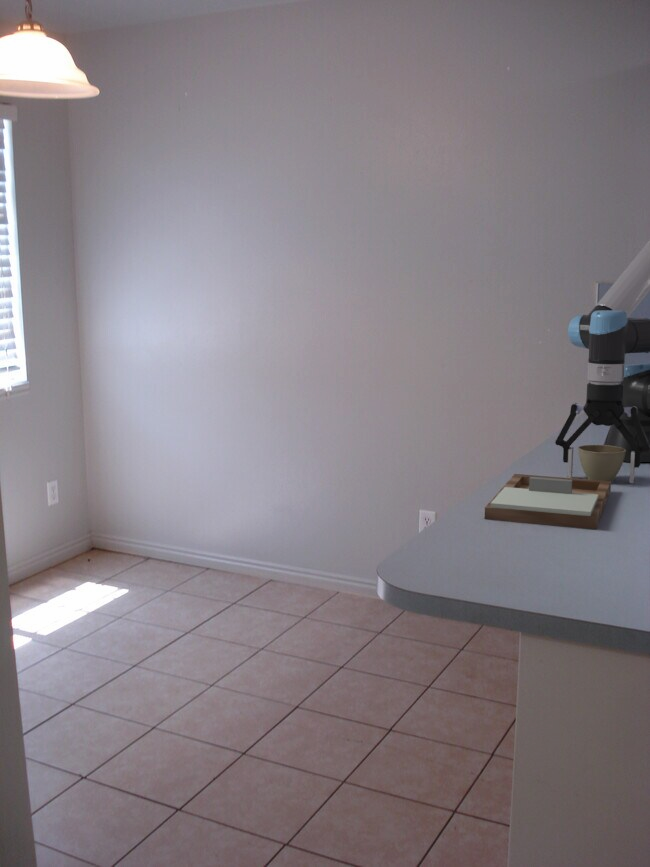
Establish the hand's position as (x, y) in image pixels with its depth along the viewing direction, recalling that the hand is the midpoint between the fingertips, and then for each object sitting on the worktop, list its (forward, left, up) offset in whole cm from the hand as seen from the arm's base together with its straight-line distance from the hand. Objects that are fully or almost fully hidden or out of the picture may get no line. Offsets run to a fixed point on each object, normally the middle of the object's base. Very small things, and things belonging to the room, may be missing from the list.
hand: (600, 479), depth 208 cm
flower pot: (0, 0, 0) cm, 0 cm away
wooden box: (+25, +9, 0) cm, 27 cm away
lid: (+32, +14, +2) cm, 35 cm away
